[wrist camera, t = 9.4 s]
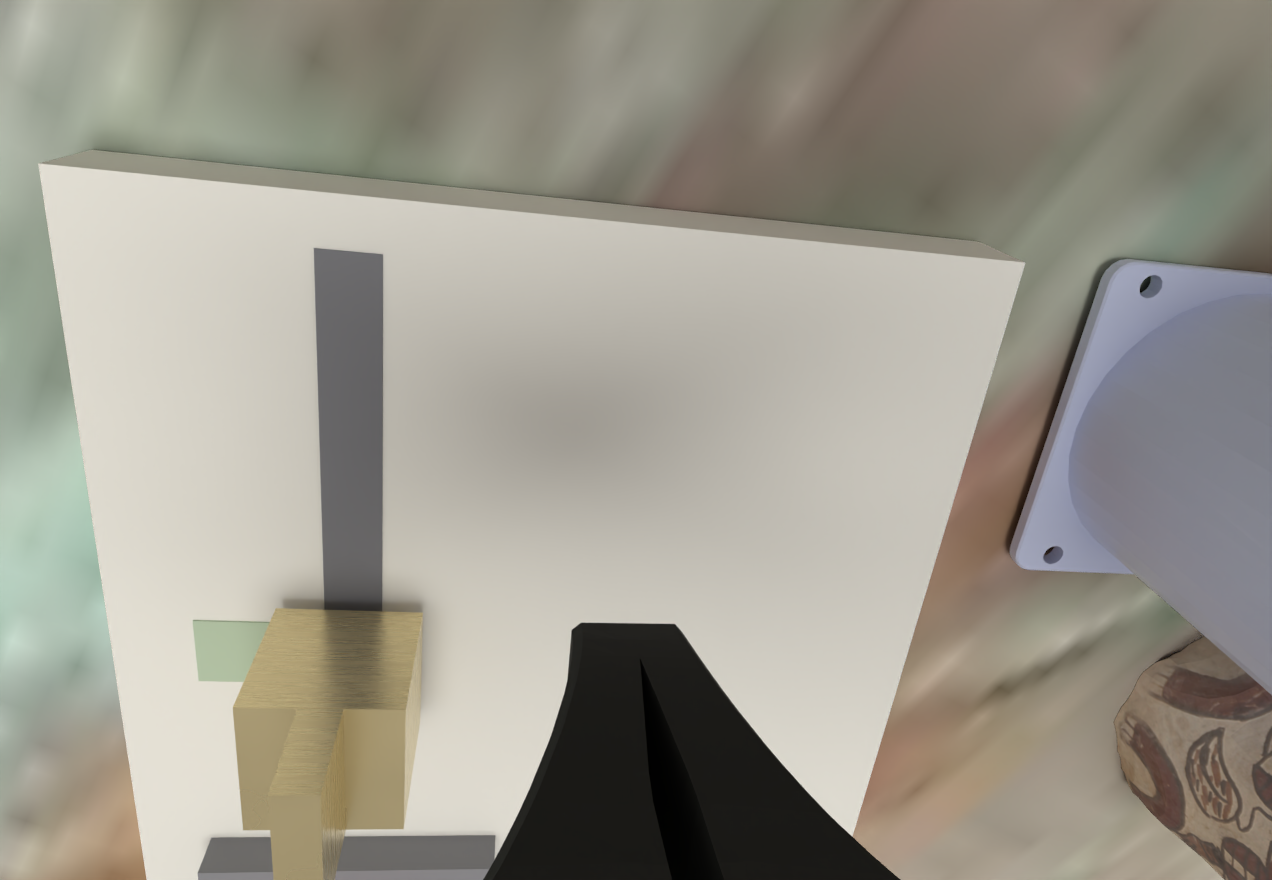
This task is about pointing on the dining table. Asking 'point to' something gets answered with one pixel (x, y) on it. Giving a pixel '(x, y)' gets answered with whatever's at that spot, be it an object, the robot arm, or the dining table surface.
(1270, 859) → the figurine
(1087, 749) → the dining table surface
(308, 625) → the brass slider
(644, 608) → the control board
